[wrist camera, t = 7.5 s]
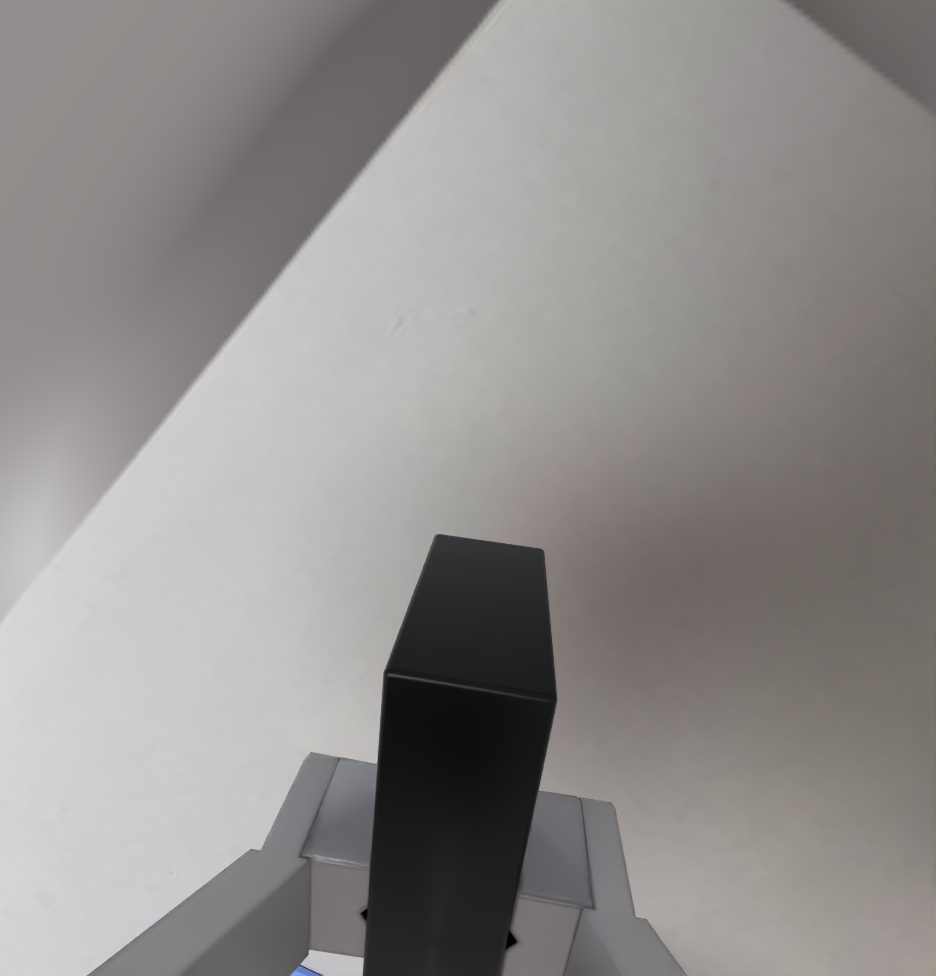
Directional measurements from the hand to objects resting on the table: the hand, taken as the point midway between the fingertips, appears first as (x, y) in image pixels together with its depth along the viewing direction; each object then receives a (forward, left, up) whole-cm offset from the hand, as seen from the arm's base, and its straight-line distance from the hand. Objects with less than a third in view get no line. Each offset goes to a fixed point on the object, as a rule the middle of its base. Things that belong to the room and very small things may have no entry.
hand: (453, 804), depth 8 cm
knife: (+6, 0, -2) cm, 6 cm away
